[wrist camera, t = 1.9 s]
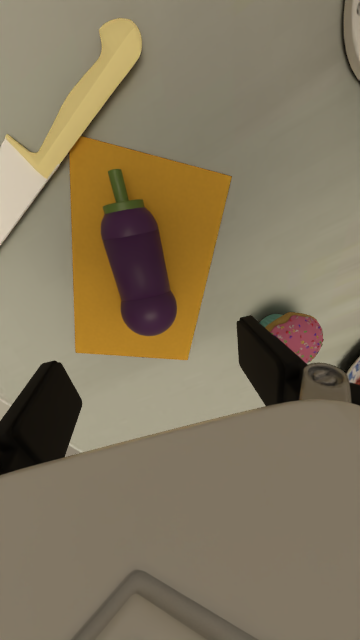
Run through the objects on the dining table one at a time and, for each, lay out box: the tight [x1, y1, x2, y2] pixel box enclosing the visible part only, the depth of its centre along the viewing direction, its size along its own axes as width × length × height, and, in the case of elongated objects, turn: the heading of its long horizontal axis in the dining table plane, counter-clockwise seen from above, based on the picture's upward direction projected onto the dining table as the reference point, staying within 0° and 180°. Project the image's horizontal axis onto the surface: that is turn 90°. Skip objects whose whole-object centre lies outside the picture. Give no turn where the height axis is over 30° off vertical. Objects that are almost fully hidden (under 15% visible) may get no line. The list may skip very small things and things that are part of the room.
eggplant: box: [101, 169, 177, 336], centre depth 21 cm, size 16×6×6 cm, turn 9°
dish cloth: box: [69, 136, 232, 360], centre depth 25 cm, size 24×16×1 cm, turn 169°
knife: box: [0, 18, 142, 245], centre depth 19 cm, size 1×32×5 cm
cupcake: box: [260, 312, 324, 363], centre depth 26 cm, size 9×8×12 cm
